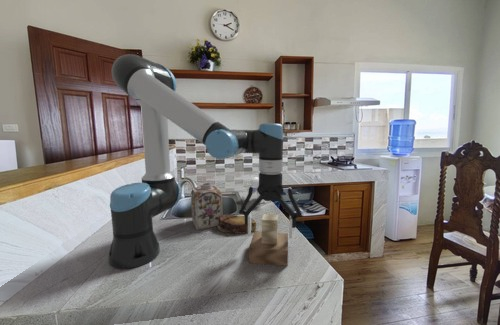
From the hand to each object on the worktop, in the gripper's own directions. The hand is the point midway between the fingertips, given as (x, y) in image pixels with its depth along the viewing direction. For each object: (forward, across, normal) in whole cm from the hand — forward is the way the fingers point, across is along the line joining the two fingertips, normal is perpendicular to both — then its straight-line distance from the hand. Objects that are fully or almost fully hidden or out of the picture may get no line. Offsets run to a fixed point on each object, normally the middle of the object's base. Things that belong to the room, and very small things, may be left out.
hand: (269, 235), depth 77 cm
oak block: (+2, 0, 0) cm, 2 cm away
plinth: (+7, 0, 0) cm, 7 cm away
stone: (+7, -15, +18) cm, 25 cm away
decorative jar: (+7, -30, +22) cm, 38 cm away
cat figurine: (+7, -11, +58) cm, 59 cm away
